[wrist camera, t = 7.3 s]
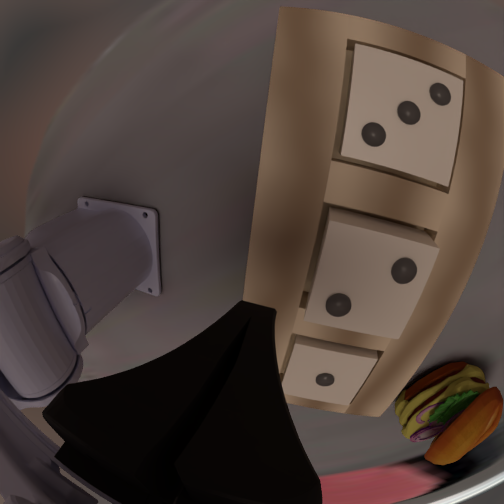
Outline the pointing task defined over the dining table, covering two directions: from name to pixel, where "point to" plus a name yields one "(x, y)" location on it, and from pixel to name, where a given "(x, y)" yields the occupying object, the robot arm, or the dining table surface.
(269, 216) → the tile board
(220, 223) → the dining table surface
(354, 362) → the one dot tile
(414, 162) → the three dot tile
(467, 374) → the cheeseburger
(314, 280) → the two dot tile
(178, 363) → the robot arm
